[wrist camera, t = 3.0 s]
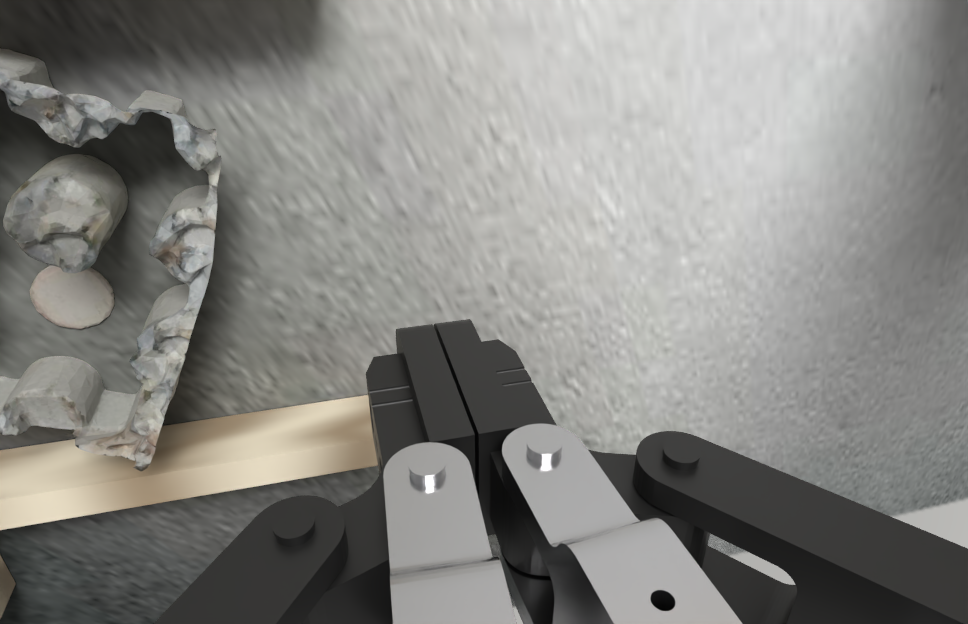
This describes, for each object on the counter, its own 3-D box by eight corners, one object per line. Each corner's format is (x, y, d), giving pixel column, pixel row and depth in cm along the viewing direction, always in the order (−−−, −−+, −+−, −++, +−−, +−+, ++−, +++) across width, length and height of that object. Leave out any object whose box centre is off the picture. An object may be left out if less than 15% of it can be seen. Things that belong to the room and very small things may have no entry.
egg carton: (174, 405, 23) (152, 489, 20) (-88, 359, 21) (-167, 447, 17) (253, 115, 19) (242, 156, 16) (-60, 7, 17) (-156, 29, 13)
